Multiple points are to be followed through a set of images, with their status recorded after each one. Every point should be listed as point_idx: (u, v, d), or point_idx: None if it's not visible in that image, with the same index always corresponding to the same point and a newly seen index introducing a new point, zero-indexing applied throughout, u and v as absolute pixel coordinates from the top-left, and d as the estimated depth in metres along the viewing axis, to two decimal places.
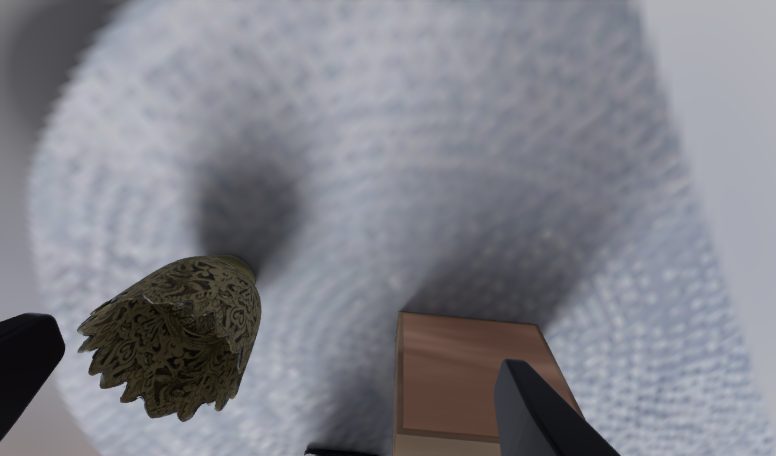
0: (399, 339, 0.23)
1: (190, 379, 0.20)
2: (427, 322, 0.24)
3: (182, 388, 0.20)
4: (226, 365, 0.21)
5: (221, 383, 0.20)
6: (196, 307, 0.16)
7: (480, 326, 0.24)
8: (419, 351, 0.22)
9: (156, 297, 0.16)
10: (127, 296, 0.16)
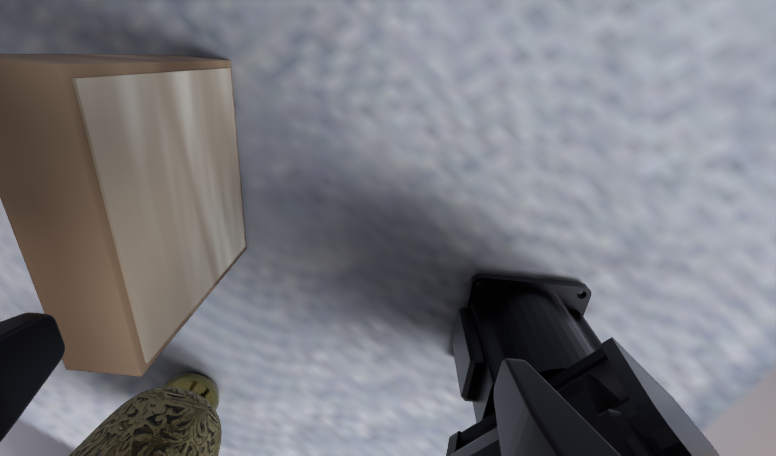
0: None
1: None
2: None
3: None
4: None
5: None
6: None
7: None
8: None
9: None
10: None
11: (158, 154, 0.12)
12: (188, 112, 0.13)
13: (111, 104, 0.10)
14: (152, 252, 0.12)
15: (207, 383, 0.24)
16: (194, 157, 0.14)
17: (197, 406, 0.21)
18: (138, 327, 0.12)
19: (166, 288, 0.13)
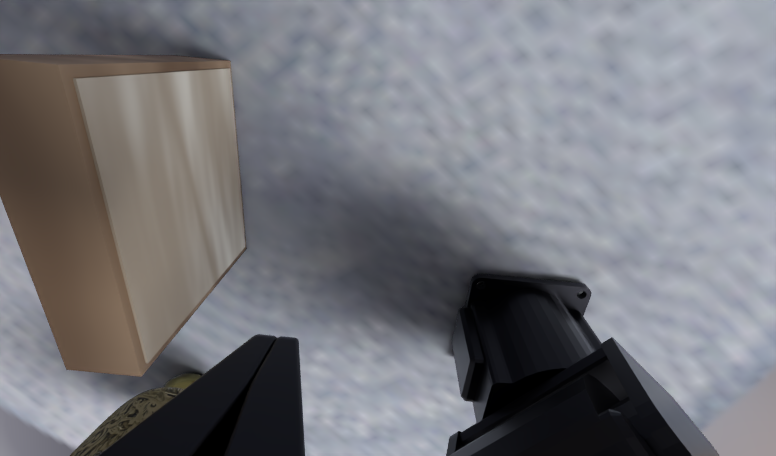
0: None
1: None
2: None
3: None
4: None
5: None
6: None
7: None
8: None
9: None
10: None
11: (158, 154, 0.12)
12: (188, 112, 0.13)
13: (111, 105, 0.10)
14: (152, 252, 0.12)
15: None
16: (194, 157, 0.14)
17: None
18: (138, 327, 0.12)
19: (166, 288, 0.13)
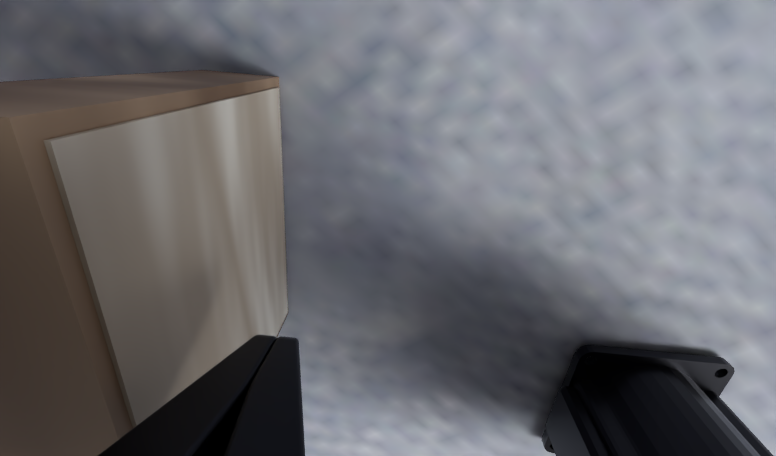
0: None
1: None
2: None
3: None
4: None
5: None
6: None
7: None
8: None
9: None
10: None
11: (192, 233, 0.08)
12: (232, 159, 0.09)
13: (121, 175, 0.05)
14: (183, 384, 0.08)
15: None
16: (237, 220, 0.10)
17: None
18: None
19: None
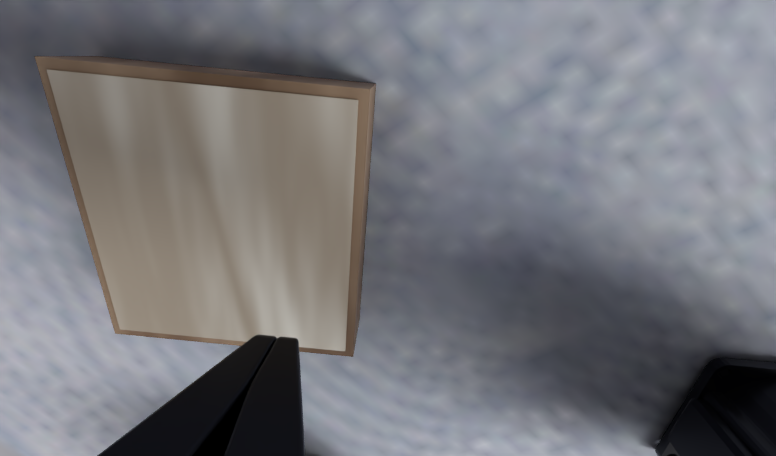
0: None
1: None
2: None
3: None
4: None
5: None
6: None
7: None
8: None
9: None
10: None
11: (160, 166, 0.11)
12: (221, 137, 0.10)
13: (87, 99, 0.10)
14: (140, 250, 0.12)
15: None
16: (232, 193, 0.11)
17: None
18: (115, 295, 0.13)
19: (158, 292, 0.13)
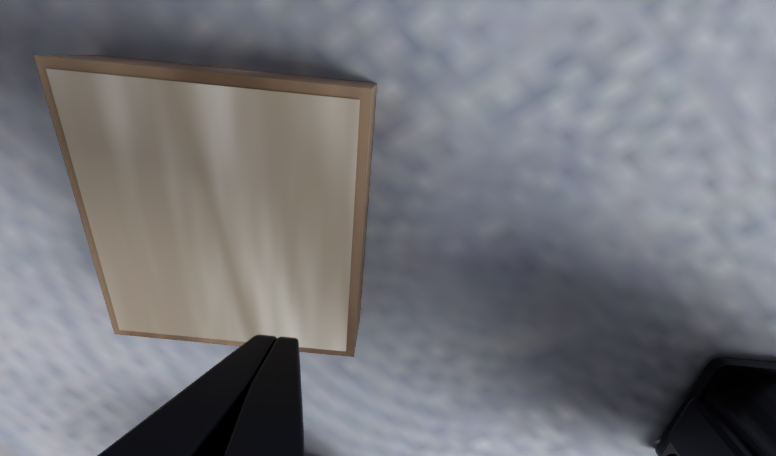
0: None
1: None
2: None
3: None
4: None
5: None
6: None
7: None
8: None
9: None
10: None
11: (160, 165, 0.11)
12: (222, 137, 0.10)
13: (87, 99, 0.10)
14: (140, 250, 0.12)
15: None
16: (233, 193, 0.11)
17: None
18: (114, 296, 0.13)
19: (158, 292, 0.13)
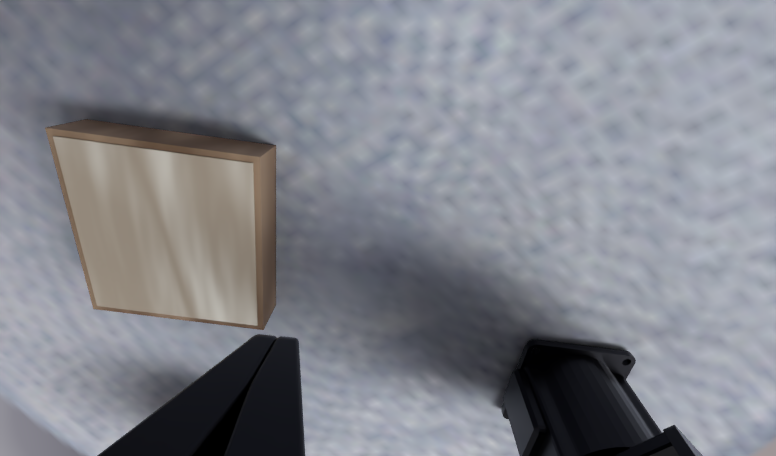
0: None
1: None
2: None
3: None
4: None
5: None
6: None
7: None
8: None
9: None
10: None
11: (126, 197, 0.17)
12: (166, 181, 0.16)
13: (78, 155, 0.16)
14: (112, 251, 0.18)
15: None
16: (174, 216, 0.17)
17: None
18: (94, 282, 0.19)
19: (124, 280, 0.19)
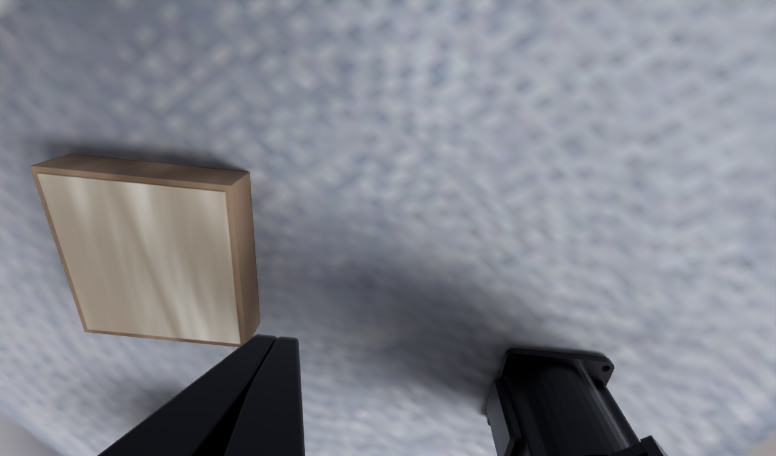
0: None
1: None
2: None
3: None
4: None
5: None
6: None
7: None
8: None
9: None
10: None
11: (109, 227, 0.18)
12: (145, 211, 0.17)
13: (62, 190, 0.17)
14: (99, 277, 0.19)
15: None
16: (155, 243, 0.18)
17: None
18: (83, 306, 0.20)
19: (112, 304, 0.20)
